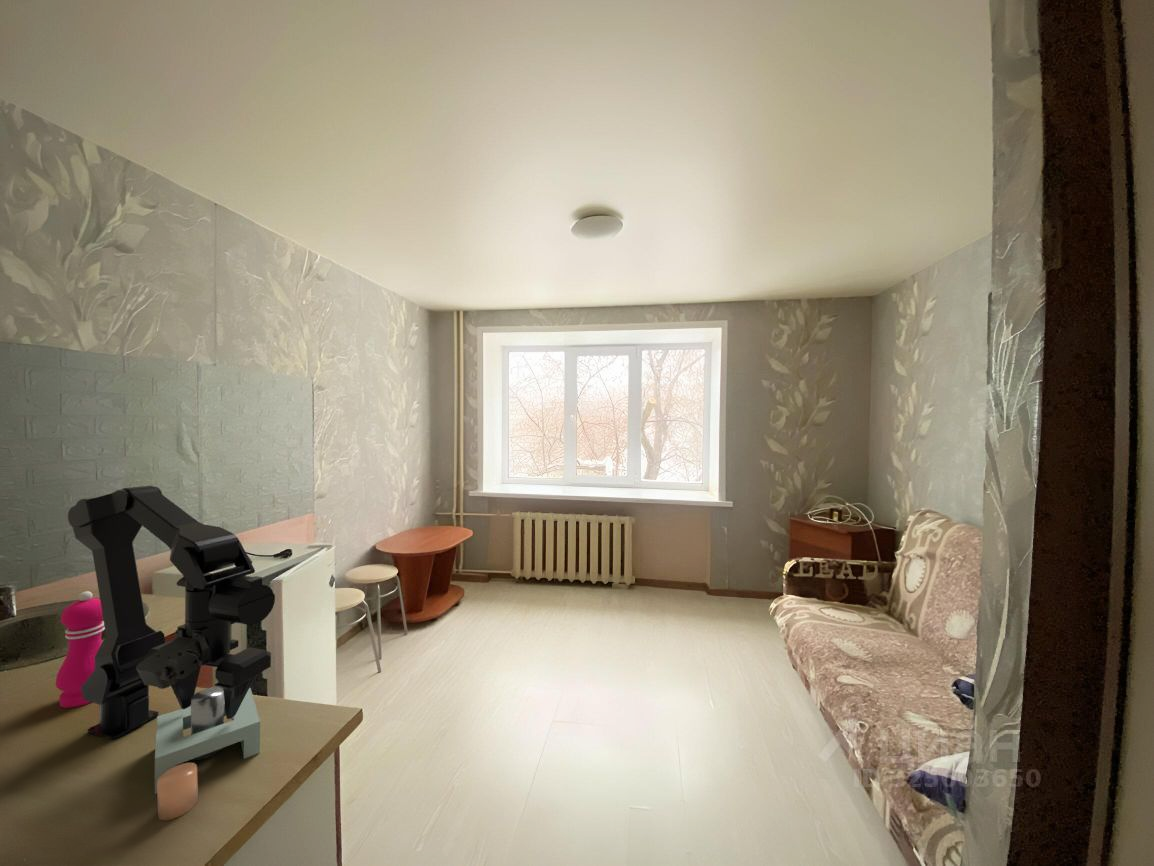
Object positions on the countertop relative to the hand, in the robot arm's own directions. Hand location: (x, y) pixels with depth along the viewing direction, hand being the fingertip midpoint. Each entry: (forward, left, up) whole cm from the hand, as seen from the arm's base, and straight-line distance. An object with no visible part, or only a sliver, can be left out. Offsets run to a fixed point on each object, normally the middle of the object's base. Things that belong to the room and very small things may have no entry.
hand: (208, 712), depth 70 cm
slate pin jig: (0, 0, -6) cm, 6 cm away
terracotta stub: (+7, -9, -6) cm, 13 cm away
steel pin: (0, 0, -6) cm, 6 cm away
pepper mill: (-36, +5, -6) cm, 37 cm away
